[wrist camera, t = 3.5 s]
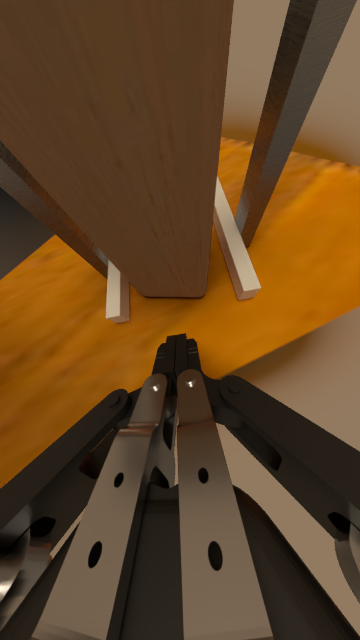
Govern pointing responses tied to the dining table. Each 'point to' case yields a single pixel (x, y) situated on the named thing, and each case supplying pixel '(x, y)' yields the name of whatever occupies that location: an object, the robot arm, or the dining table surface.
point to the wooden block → (122, 124)
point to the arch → (271, 139)
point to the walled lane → (232, 251)
